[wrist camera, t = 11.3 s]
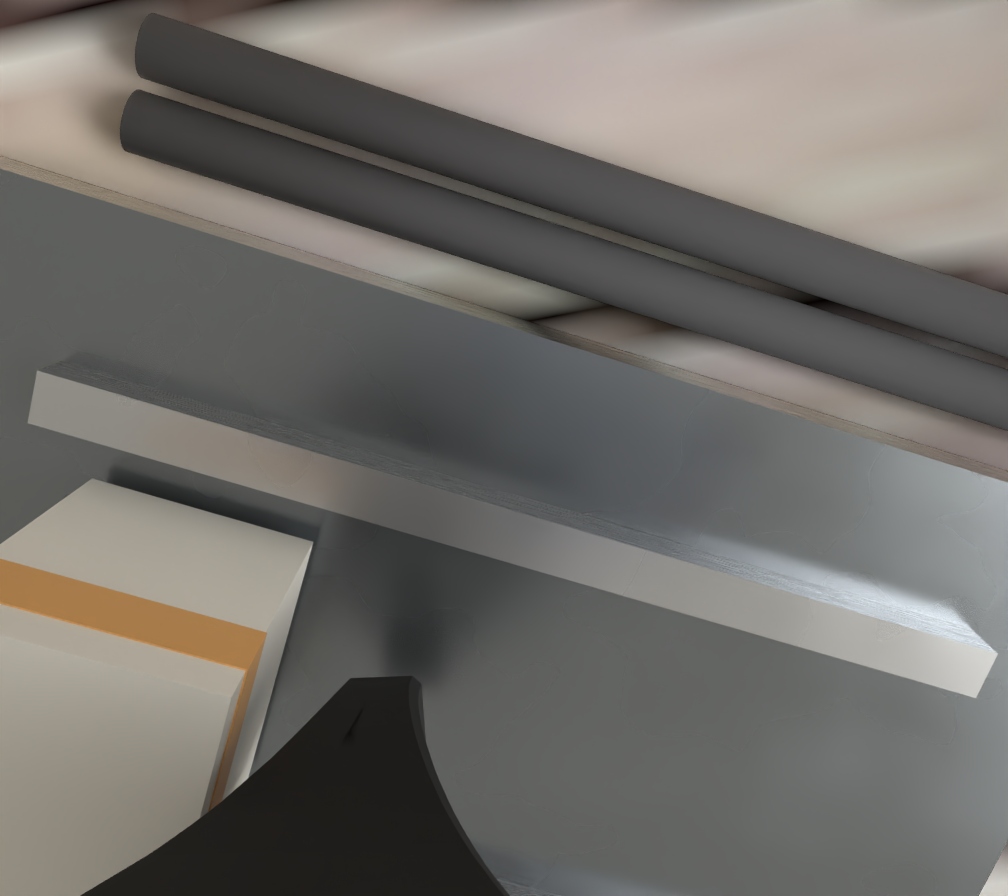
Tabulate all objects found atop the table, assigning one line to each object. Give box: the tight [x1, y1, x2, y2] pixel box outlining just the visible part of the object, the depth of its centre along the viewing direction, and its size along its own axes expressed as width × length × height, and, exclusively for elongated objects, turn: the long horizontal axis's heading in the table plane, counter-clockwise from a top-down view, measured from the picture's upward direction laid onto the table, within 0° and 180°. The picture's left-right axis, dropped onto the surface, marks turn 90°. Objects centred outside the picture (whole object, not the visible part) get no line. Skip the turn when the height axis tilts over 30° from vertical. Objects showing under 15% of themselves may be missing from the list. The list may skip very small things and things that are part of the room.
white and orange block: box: [0, 479, 313, 896], centre depth 11 cm, size 3×4×4 cm
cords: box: [120, 13, 1008, 431], centre depth 13 cm, size 15×2×1 cm, turn 73°
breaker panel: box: [0, 156, 1008, 896], centre depth 14 cm, size 17×11×2 cm, turn 73°
